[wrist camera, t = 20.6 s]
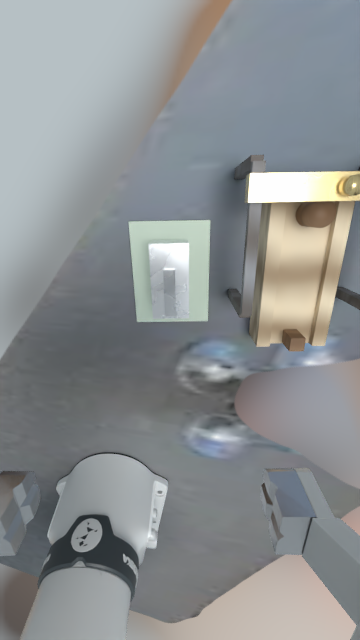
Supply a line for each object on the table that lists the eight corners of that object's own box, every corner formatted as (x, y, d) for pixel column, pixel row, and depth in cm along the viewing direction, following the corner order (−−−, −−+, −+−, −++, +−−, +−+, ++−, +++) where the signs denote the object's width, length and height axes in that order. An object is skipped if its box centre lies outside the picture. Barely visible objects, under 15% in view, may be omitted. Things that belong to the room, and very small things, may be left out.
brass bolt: (429, 199, 22) (455, 198, 20) (244, 202, 22) (251, 202, 20) (438, 171, 21) (466, 167, 19) (246, 175, 21) (253, 171, 19)
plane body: (333, 331, 35) (372, 362, 28) (226, 333, 35) (237, 364, 28) (369, 165, 28) (435, 149, 21) (234, 168, 28) (253, 153, 21)
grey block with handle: (188, 306, 33) (189, 320, 29) (155, 306, 33) (152, 320, 29) (187, 239, 30) (188, 243, 26) (152, 239, 30) (147, 244, 26)
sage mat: (207, 319, 34) (207, 320, 34) (137, 320, 34) (137, 322, 34) (209, 219, 30) (210, 220, 29) (129, 221, 30) (128, 221, 29)
